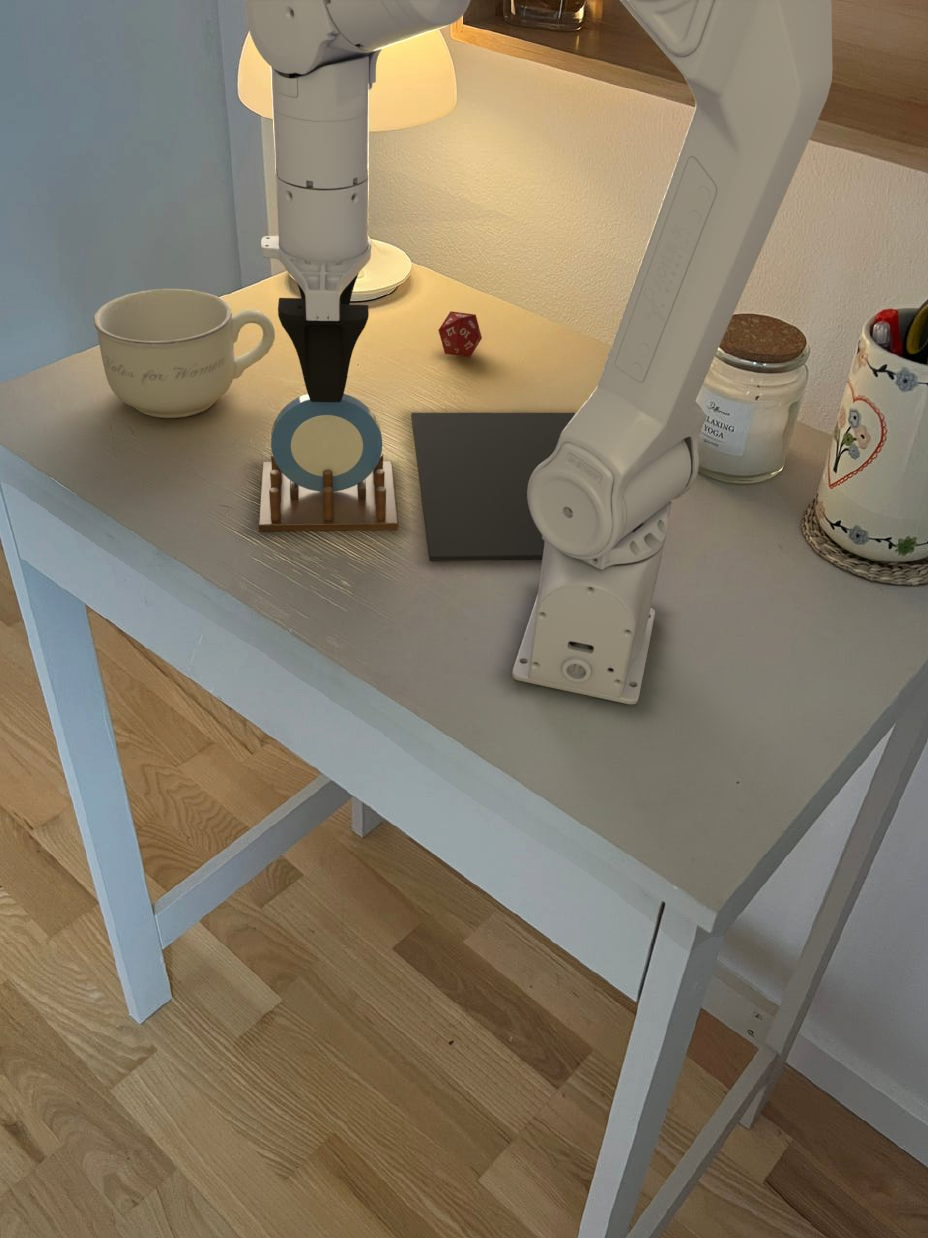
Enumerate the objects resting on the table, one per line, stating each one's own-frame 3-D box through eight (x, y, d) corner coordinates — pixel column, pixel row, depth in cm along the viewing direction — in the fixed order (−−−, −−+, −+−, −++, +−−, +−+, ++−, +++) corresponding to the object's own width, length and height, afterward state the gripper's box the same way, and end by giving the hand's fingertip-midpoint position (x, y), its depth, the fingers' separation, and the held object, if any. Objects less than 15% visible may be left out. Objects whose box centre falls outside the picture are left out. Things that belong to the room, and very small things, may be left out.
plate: (381, 492, 85) (383, 398, 80) (273, 493, 84) (268, 397, 79) (380, 484, 86) (382, 390, 81) (273, 484, 85) (268, 389, 80)
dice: (482, 345, 106) (485, 305, 103) (475, 368, 103) (478, 326, 100) (443, 340, 106) (445, 300, 104) (434, 362, 103) (436, 321, 100)
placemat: (622, 558, 82) (623, 553, 82) (429, 561, 80) (429, 556, 80) (574, 416, 97) (575, 412, 97) (411, 416, 95) (411, 412, 95)
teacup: (95, 430, 91) (79, 338, 86) (121, 366, 99) (108, 278, 94) (270, 436, 92) (265, 345, 86) (282, 372, 100) (278, 285, 95)
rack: (397, 529, 83) (398, 494, 81) (259, 531, 82) (256, 495, 80) (391, 467, 89) (392, 433, 87) (263, 468, 88) (260, 433, 86)
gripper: (263, 133, 75) (273, 324, 84) (249, 216, 64) (262, 425, 73) (369, 137, 76) (368, 325, 85) (374, 219, 65) (372, 426, 74)
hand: (326, 372), depth 79 cm, fingers open, 7 cm apart
